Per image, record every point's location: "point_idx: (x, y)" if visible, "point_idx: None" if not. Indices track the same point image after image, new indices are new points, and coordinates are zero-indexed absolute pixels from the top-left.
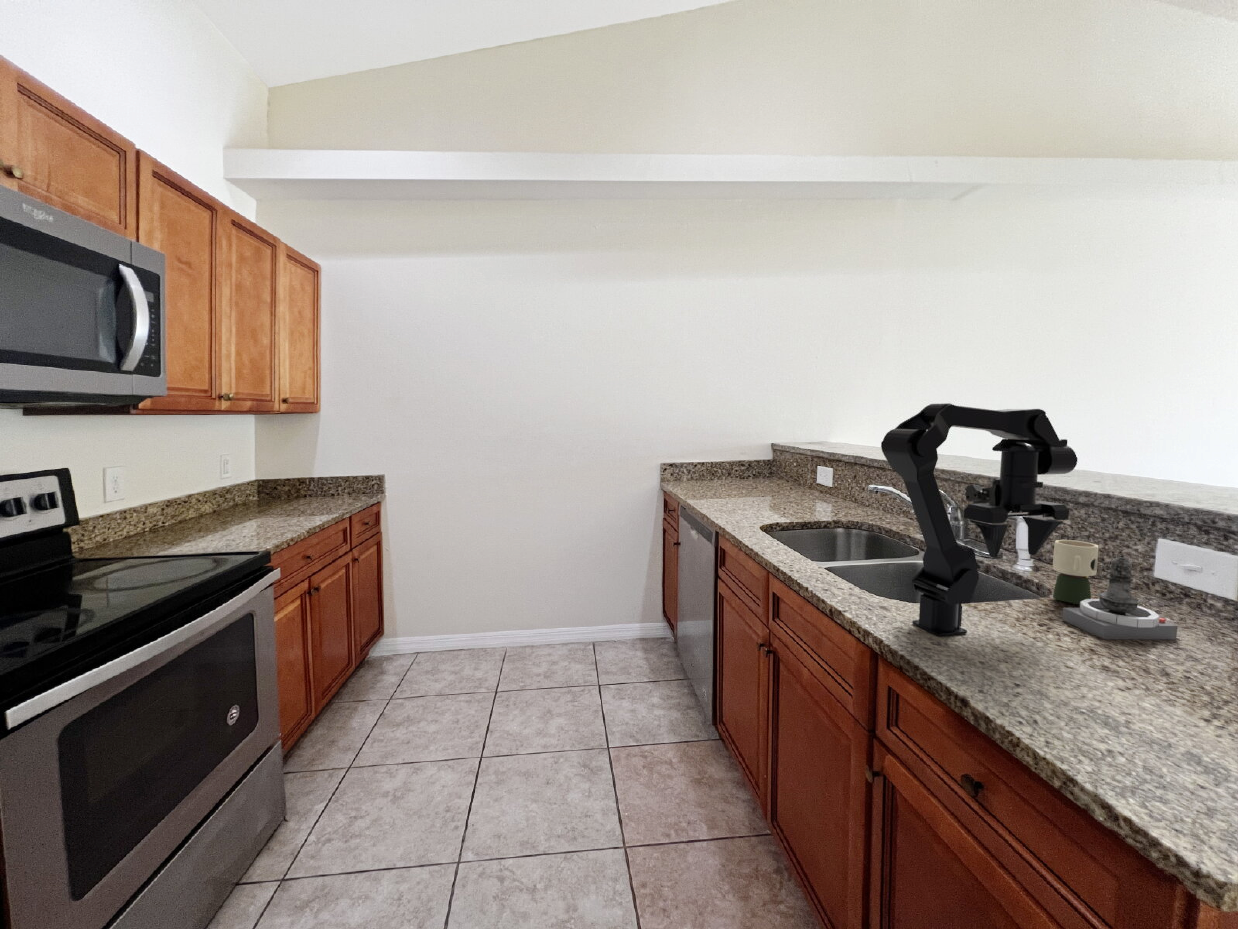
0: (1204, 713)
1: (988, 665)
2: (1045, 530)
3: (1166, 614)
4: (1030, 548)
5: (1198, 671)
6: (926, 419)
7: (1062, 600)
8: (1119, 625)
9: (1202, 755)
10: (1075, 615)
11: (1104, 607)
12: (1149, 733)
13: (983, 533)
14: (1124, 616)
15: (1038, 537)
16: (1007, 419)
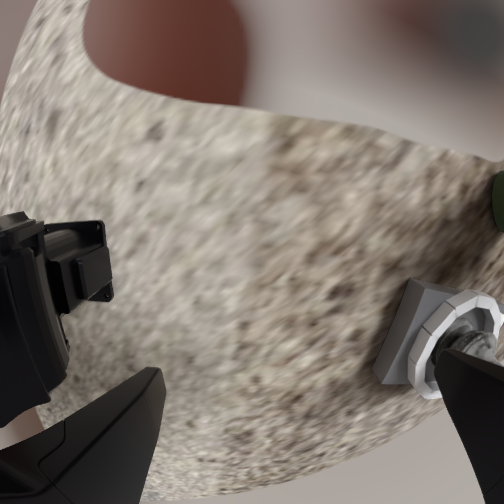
0: (235, 486)
1: (81, 386)
2: (491, 493)
3: None
4: (456, 374)
5: (355, 445)
6: None
7: (492, 203)
8: (405, 383)
9: (162, 495)
10: (409, 319)
11: (452, 344)
12: (149, 482)
13: (28, 454)
14: (423, 389)
15: (483, 445)
16: None
